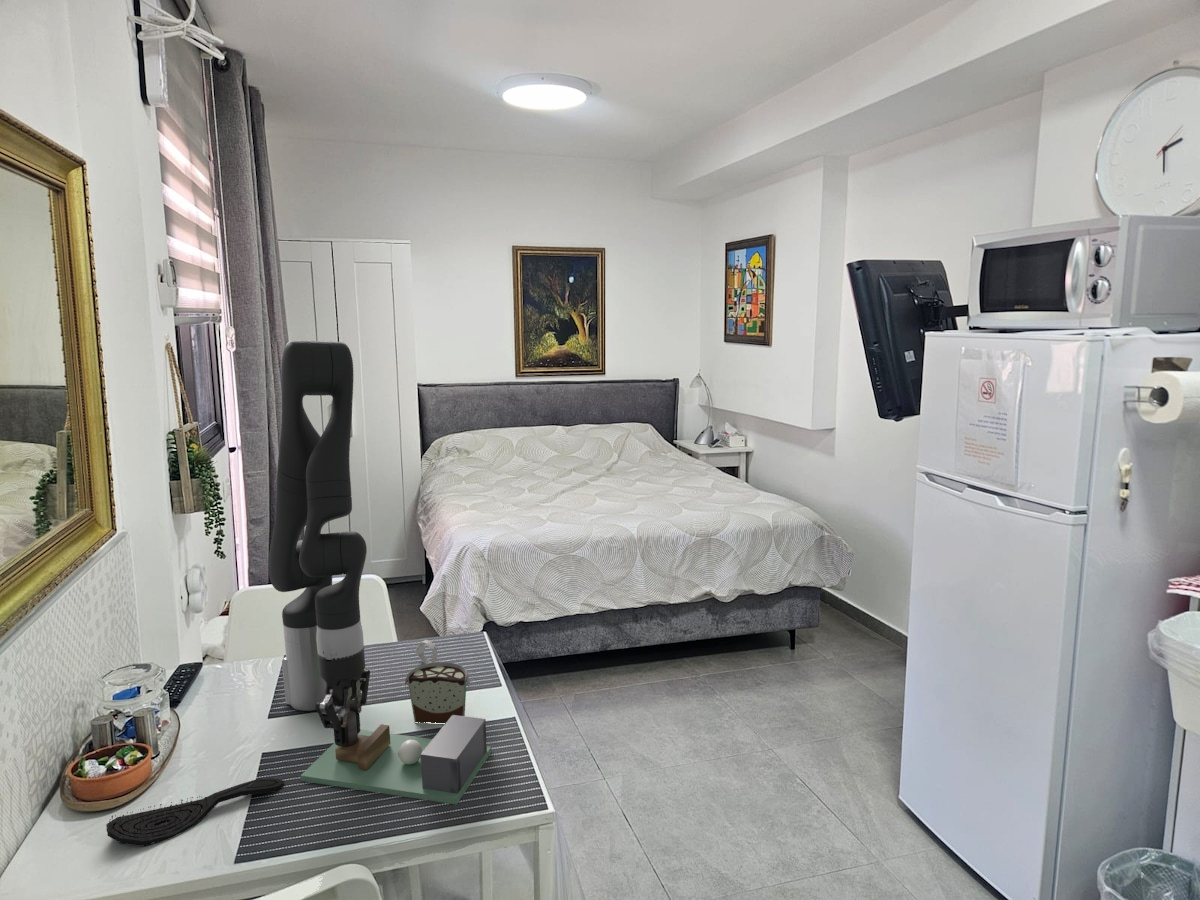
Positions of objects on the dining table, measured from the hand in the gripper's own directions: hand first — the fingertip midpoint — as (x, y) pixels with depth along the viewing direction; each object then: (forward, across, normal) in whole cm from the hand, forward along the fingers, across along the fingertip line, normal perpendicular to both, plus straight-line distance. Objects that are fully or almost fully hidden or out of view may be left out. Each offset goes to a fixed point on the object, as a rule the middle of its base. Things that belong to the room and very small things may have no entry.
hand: (347, 738), depth 136 cm
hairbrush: (+5, +18, -15) cm, 24 cm away
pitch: (+4, 0, +10) cm, 10 cm away
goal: (+4, 0, +20) cm, 20 cm away
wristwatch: (+4, -37, -3) cm, 37 cm away
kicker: (+3, 0, +2) cm, 3 cm away
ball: (+1, 0, +12) cm, 12 cm away
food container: (+4, -17, +10) cm, 20 cm away
